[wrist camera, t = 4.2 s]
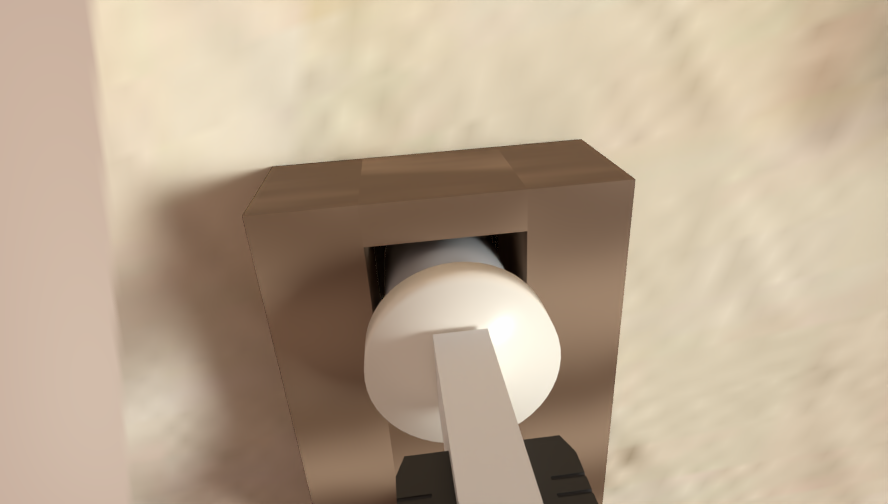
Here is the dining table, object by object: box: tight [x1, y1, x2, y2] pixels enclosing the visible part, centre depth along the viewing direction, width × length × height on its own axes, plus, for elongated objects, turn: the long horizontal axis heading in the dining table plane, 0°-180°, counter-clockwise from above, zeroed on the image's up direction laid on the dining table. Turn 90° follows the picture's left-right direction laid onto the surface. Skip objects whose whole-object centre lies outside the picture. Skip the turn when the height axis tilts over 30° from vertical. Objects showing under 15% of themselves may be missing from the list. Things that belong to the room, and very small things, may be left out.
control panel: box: [242, 139, 635, 504], centre depth 25 cm, size 28×12×5 cm, turn 4°
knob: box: [364, 235, 561, 443], centre depth 18 cm, size 6×6×7 cm
